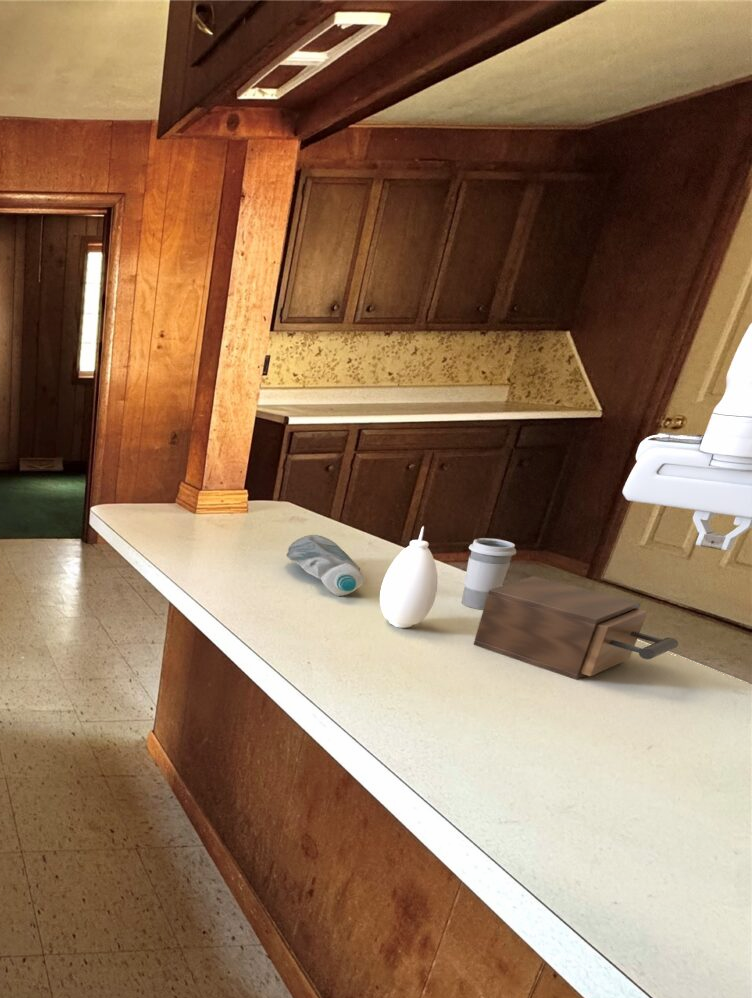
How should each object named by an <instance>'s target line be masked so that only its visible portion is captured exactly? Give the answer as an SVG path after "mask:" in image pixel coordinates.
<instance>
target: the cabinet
mask: <svg viewBox="0 0 752 998" xmlns="http://www.w3.org/2000/svg"><path fill="white" fill-rule="evenodd" d="M641 604H642V603H641V601H638V600H632V599H629V598H625V597H620V596H616V595H613V594H608V593H605V592H600V591H596V590H592V589H588V588H584V587H580V586H576V585H572V584H567V583H564V582H559V581H555V580H551V579H547V578H543V577H539V576H535V575H531V576H529V577H526V578H522V579H520V580H515V581H513V582H510V583H507V584H502V586H500V587H497V588H494V589H490V590H489V592H488V595H487V599H486V602H485V606H484V609H482V612H481V616H480V620H479V622H478V623H479V624H478V627H477V631H476V634H475V637H474V641H473V645H474V646H477V647H479V648H483V649H486V650H488V651H492V652H494V653H498V654H501V655H503V656H506V657H509V658H512V659H515V660H518V661H520V662H524V663H526V664H530V665H532V666H536V667H538V668H541V669H544V670H547V671H549V672H553V673H555V674H558V675H562V676H565V677H568V678H570V679H573V680H578V679H580V678H583V677H584V676H586V675H585V674H582V673H581V670H582V667H583V664H584V661H585V659H586V656H587V653H588V650H589V648H590V645H591V642H592V639H593V636H594V634H595V631H596V628H597V625H598V623H600V622H602V621H605V620H607V619H610V618H613V617H615V616H618V615H620V614H621V615H623V614H626V613H628V612H631V611H633V610H636V609H640V606H641ZM621 615H620V616H621Z"/></svg>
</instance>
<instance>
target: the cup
mask: <svg viewBox="0 0 752 998" xmlns="http://www.w3.org/2000/svg"><path fill="white" fill-rule="evenodd" d="M515 547H516V544H515V543H513V542H511V541H507V540H504V539H497V538H486V537H482V538H481V537H480V538H475V539H474V540H473V542H472V543H471V544H469V546H468V549H469V550H470V555H469V556H468V561H467V566H466V572H465V577H464V582H463V586H464V587H463V593H462V599H461V605H463V606H465V607H468V608H471V609H476V610H483V609H484V606H485V602H486V599H487V595H488V592H489V590H490V589H494V588H497V587H500V586H503V585H504V580H505V579H506V575H507V573H508V570H509V568H510V565H511V559H512V556H515V555H516V554H517V549H516V548H515Z"/></svg>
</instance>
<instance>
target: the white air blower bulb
mask: <svg viewBox="0 0 752 998" xmlns="http://www.w3.org/2000/svg"><path fill="white" fill-rule="evenodd" d="M424 532H425V526H424V525H423V526H422V527H421V529H420V533H419V536H418V539H412V540H410V541H409V545H408V546H407V547H405V548H403V550H402V551H401V552H400V553H398V555H397V556H395V559H393V562H391V564H390V566H389V567H388V569H387V571H386V573H385V575H384V577H383V581H382V583H381V587H380V592H379V605H380V610H381V612H382V615H383V617H384V618H385V619H386V620H388V623H389V624H391V625H393V627H395V628H398V629H406V628H411V627H413V625H418V624H419V623H422V621H423V620H424V619H425V618H426V617H427V616H428V614H429V613H430V612H431V609H432V607H433V606H434V603H435V600H436V597H437V591H438V582H439V581H438V571H437V565H436V562H435V558H434V556H433V553H432V552H431V549H430V548H429V545H430V544H429V542H428V541H427V540H423V537H424Z"/></svg>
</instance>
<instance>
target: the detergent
mask: <svg viewBox="0 0 752 998" xmlns="http://www.w3.org/2000/svg"><path fill="white" fill-rule="evenodd" d="M286 557H287V558H288V559H289V561H291V562H293V563H294V564H297V565H298V566H300V568H302V570H303V571H304V572H305V573H306V574H309V575H312V576H313V577H314V578H316V579H318V580H320V581H321V582H322V584H323V585H324V586H325V588H326V589H327V590H328V591H329V592H330V593H332V594H333V595H335V596H337V597H342V596H346V595H349V594H352V593H353V592H354V591H356V590H357V589H358V588H360V587H361V586H362V584H364V581H365V580H364V575H362V574H363V573H361V567H360V566H359V565H358V564H357V563H356V562H355V561H354V560H353V559H352V558H351V557H350V556H349V554H348V553H346V552H345V551H344V550H343V549H342V548H341V546H339V545H338V544H337V543H336V542H335V541H333V540H331V539H329V538H328V537H325V536H322V535H319V534H308V535H305V536H303V537H302V536H301V537H300V538H298V539H296V540H295V541H293V542H292V543H291V544H290V545H289V547H288V548H287V553H286Z"/></svg>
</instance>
